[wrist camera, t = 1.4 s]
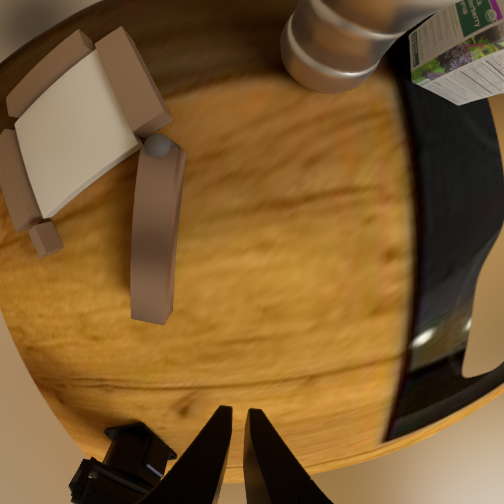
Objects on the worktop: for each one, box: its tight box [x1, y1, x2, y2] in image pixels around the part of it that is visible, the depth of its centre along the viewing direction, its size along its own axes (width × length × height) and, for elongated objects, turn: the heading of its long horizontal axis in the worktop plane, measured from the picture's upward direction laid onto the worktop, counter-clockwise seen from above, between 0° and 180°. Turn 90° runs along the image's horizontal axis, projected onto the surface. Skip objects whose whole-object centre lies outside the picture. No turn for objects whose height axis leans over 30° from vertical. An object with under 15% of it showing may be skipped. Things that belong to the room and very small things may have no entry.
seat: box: [0, 26, 174, 258], centre depth 15 cm, size 15×15×2 cm
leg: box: [130, 133, 187, 325], centre depth 17 cm, size 12×2×3 cm, turn 172°
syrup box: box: [409, 0, 504, 105], centre depth 9 cm, size 6×6×14 cm
